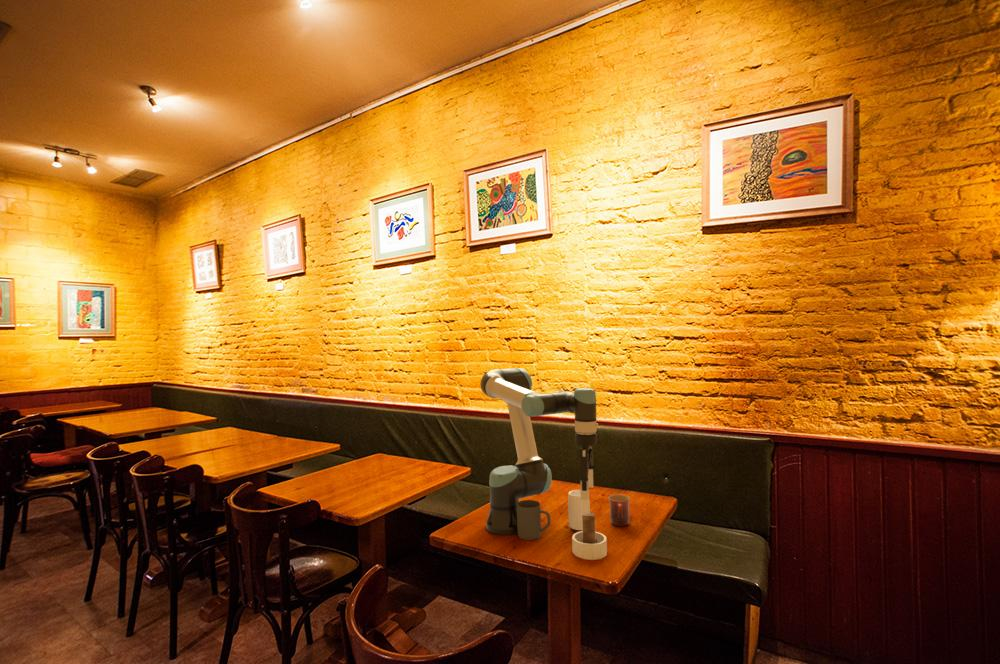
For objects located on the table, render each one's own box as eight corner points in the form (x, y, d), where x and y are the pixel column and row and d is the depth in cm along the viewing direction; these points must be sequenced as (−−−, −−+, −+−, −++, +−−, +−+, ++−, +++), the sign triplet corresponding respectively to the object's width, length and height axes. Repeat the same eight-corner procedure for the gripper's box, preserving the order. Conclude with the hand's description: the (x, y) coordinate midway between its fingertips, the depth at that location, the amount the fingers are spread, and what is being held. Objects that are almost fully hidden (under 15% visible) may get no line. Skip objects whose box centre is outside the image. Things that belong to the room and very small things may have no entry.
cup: (591, 526, 185) (590, 490, 186) (589, 534, 177) (588, 497, 178) (570, 524, 188) (569, 488, 188) (567, 532, 179) (566, 495, 180)
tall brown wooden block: (583, 550, 162) (582, 515, 162) (584, 547, 164) (583, 512, 164) (595, 551, 161) (593, 516, 161) (595, 548, 163) (594, 513, 163)
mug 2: (608, 518, 192) (607, 493, 193) (630, 519, 191) (629, 494, 191) (609, 530, 181) (608, 503, 181) (632, 531, 179) (631, 504, 179)
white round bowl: (570, 557, 159) (570, 542, 159) (575, 543, 170) (575, 529, 170) (605, 561, 155) (604, 546, 155) (607, 546, 166) (607, 532, 166)
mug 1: (513, 537, 176) (512, 505, 177) (524, 528, 184) (523, 498, 185) (545, 544, 169) (544, 511, 170) (556, 535, 177) (555, 503, 178)
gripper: (593, 440, 150) (594, 506, 150) (600, 426, 174) (601, 483, 174) (569, 439, 153) (571, 504, 152) (579, 425, 177) (581, 481, 176)
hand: (587, 493), depth 163 cm, fingers open, 13 cm apart
